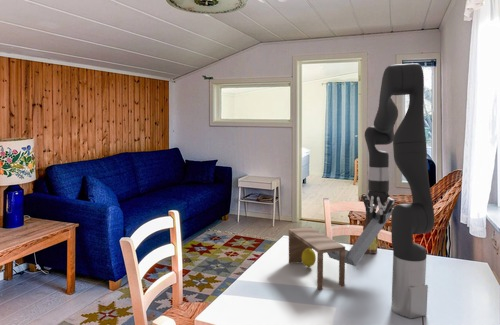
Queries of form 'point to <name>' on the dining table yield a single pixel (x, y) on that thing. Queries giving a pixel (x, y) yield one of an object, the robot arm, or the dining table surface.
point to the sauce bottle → (374, 244)
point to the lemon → (308, 257)
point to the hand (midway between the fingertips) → (377, 222)
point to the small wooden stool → (320, 244)
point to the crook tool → (362, 241)
